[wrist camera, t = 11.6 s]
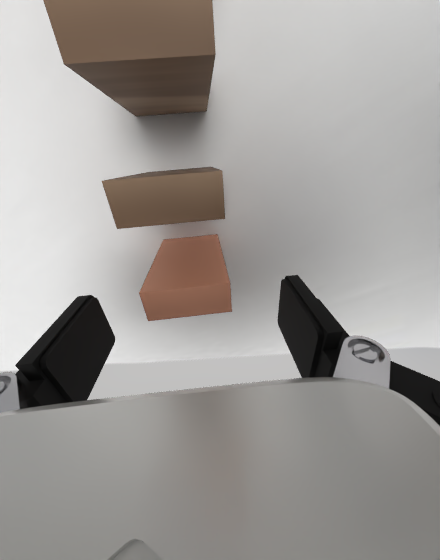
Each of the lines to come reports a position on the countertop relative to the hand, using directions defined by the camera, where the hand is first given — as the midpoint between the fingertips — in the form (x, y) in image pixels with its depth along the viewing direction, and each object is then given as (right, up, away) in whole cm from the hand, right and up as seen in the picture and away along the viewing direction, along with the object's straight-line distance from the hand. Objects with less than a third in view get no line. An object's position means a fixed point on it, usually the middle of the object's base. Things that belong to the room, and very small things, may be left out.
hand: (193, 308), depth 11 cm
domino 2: (-2, +9, +6) cm, 11 cm away
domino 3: (-1, +5, +9) cm, 10 cm away
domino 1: (-2, +14, +3) cm, 15 cm away
